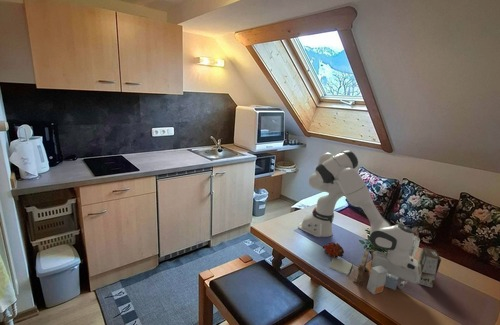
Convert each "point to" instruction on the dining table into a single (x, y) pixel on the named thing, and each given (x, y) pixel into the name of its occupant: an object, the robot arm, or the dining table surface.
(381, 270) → the skincare box
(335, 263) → the coaster
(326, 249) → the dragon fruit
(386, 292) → the dining table surface
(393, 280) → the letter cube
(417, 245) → the beer glass
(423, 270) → the coffee box
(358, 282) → the brown flat upright piece
